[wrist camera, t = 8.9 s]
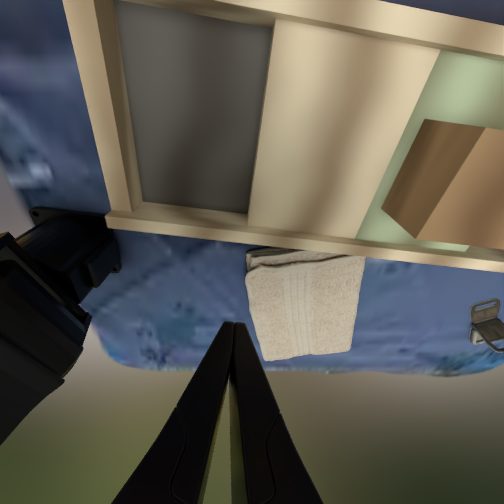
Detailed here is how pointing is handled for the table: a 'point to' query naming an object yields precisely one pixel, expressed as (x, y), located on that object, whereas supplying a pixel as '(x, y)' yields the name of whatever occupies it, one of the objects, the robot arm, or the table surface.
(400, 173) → the walnut block
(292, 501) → the robot arm
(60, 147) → the table surface
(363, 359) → the table surface
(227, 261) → the table surface
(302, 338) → the washcloth
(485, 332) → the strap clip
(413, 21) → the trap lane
